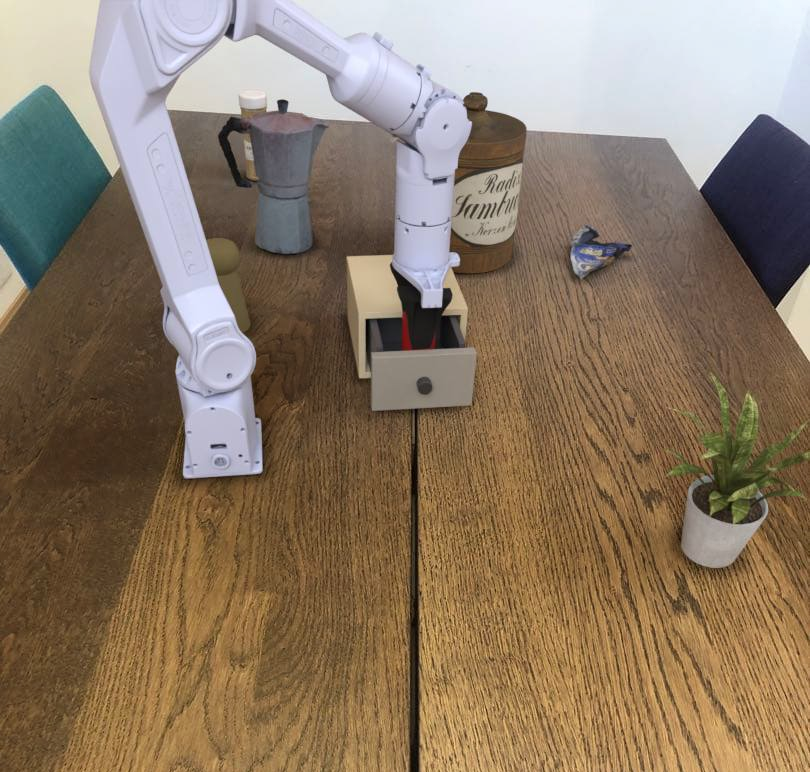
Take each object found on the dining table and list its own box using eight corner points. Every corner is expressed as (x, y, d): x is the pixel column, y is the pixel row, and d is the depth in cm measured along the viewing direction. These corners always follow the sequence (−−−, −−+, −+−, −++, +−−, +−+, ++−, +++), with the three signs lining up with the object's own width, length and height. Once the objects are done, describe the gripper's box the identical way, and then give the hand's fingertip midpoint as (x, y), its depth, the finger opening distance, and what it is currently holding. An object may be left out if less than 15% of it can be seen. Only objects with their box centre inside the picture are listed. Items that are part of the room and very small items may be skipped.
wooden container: (459, 284, 116) (473, 117, 101) (394, 247, 124) (398, 88, 109) (532, 257, 123) (555, 98, 108) (466, 225, 132) (478, 72, 116)
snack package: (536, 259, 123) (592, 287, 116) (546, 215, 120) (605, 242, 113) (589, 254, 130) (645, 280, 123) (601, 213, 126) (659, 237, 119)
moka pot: (340, 250, 123) (337, 106, 109) (239, 264, 119) (223, 115, 105) (321, 225, 129) (316, 86, 116) (225, 238, 125) (207, 94, 111)
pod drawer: (473, 411, 92) (479, 358, 87) (373, 417, 90) (373, 363, 86) (449, 344, 102) (453, 294, 98) (359, 348, 101) (359, 297, 96)
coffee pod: (437, 355, 91) (439, 323, 88) (403, 357, 91) (404, 324, 88) (431, 338, 94) (433, 306, 91) (399, 340, 93) (399, 307, 91)
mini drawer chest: (462, 373, 99) (468, 308, 93) (359, 378, 98) (358, 312, 92) (441, 314, 110) (445, 252, 104) (347, 318, 108) (346, 256, 102)
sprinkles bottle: (251, 183, 141) (243, 98, 132) (242, 174, 144) (234, 90, 135) (276, 179, 143) (270, 95, 134) (267, 170, 146) (260, 87, 137)
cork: (241, 339, 103) (231, 255, 96) (196, 333, 104) (182, 249, 97) (257, 316, 108) (248, 235, 100) (213, 311, 108) (202, 229, 101)
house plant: (595, 510, 82) (631, 368, 70) (710, 482, 85) (762, 343, 74) (677, 611, 72) (734, 466, 61) (803, 575, 76) (879, 431, 65)
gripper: (477, 244, 77) (465, 369, 87) (449, 187, 88) (441, 304, 97) (403, 247, 76) (399, 372, 86) (384, 188, 87) (382, 306, 96)
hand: (417, 336), depth 91 cm, fingers closed on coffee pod, 4 cm apart
